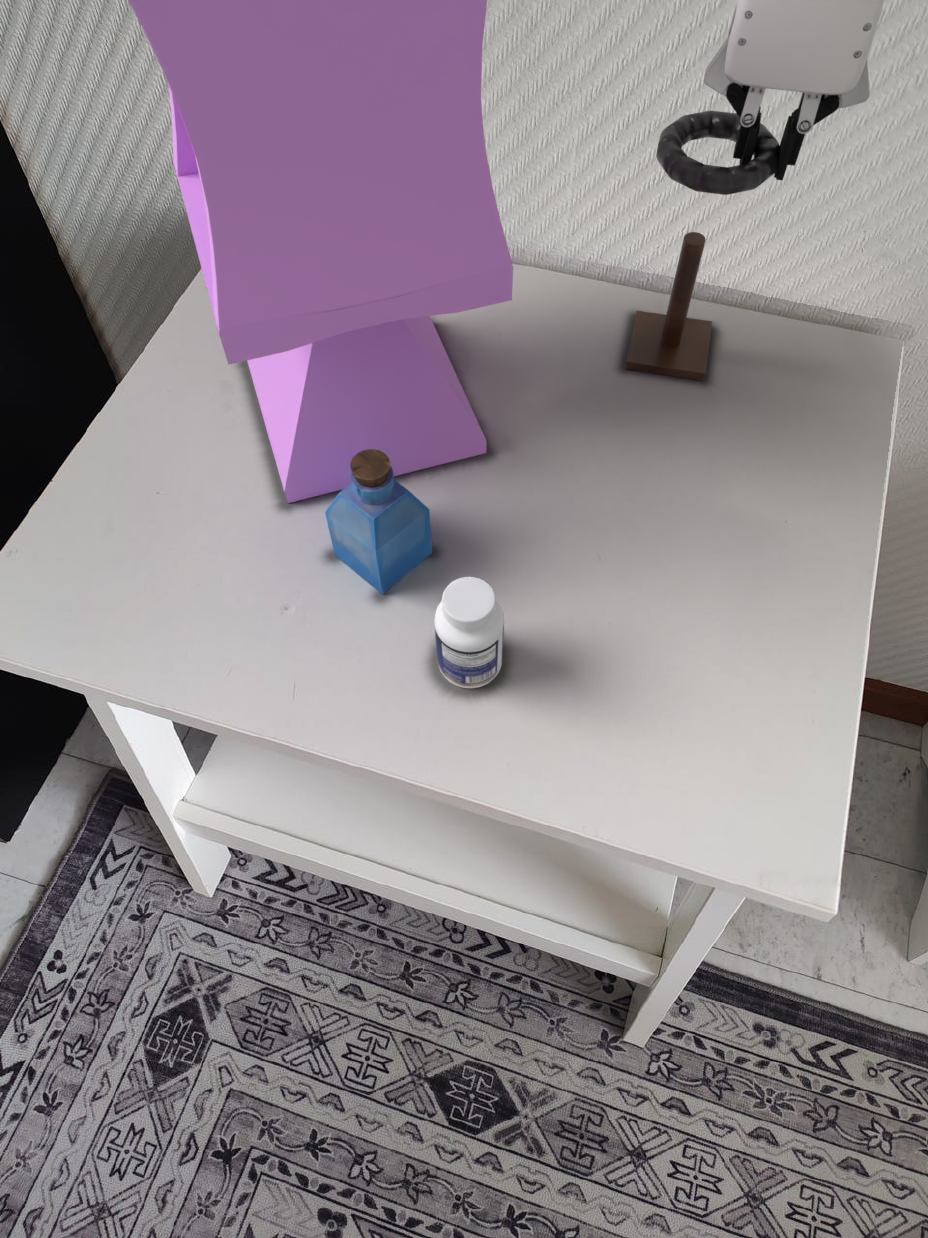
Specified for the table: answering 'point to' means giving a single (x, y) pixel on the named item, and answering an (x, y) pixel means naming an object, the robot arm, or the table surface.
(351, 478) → the perfume bottle
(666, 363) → the stand
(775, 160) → the ring
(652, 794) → the table surface
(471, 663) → the pill bottle
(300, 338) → the purple table lamp
